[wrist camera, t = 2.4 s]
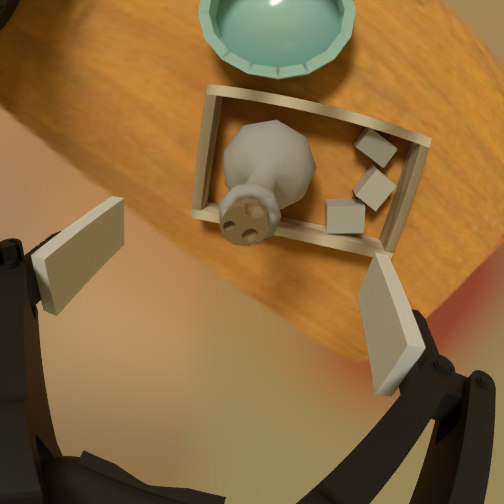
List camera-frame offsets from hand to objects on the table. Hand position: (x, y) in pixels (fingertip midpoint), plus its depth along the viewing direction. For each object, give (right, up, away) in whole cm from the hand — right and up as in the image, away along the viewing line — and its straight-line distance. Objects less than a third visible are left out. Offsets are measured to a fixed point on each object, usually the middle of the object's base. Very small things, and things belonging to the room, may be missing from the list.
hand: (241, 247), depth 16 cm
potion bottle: (+2, +9, +17) cm, 20 cm away
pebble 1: (+13, +11, +15) cm, 22 cm away
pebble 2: (+13, +7, +17) cm, 22 cm away
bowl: (+3, +23, +9) cm, 25 cm away
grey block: (+11, +4, +19) cm, 22 cm away
